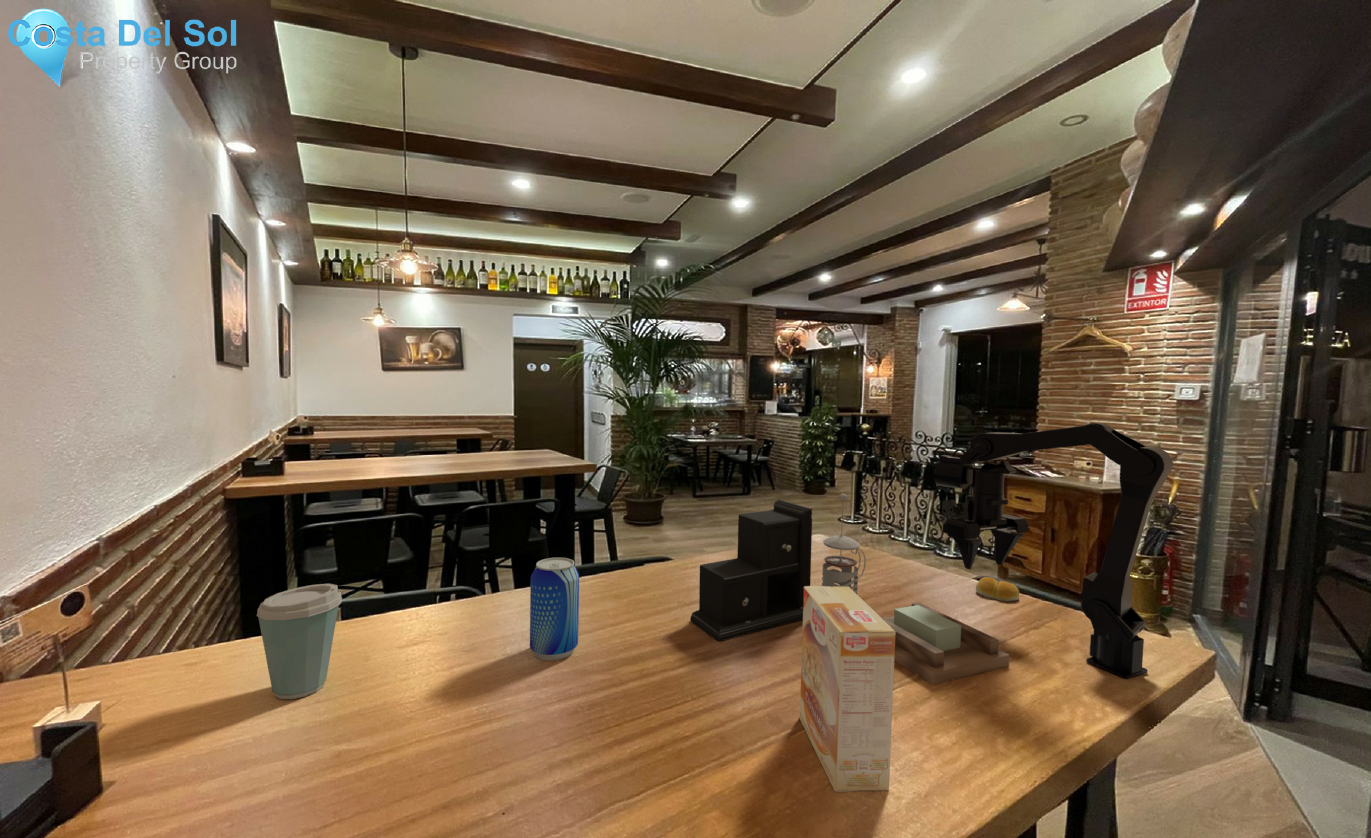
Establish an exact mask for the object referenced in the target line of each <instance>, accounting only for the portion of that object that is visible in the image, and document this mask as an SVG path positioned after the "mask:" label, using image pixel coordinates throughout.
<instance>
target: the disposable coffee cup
mask: <svg viewBox="0 0 1371 838" xmlns="http://www.w3.org/2000/svg"><path fill="white" fill-rule="evenodd" d="M338 589H339V588H338V585H337V584H333V583H323V584H322V583H319V584H311V585H305V586H299V587H294V588H291V589H287V590H284V591H280V592H277V593H275V594H273V595H270V596H269V597H267V598H265V599H264V601H262V602H261V603H260V604H259V607H258V608H257V612H256V613H257V614H256V617H258V622H259V627H260V633H261V637H262V642H263V648H264V649H263V650H264V654H265V660H266V665H267V670H268V674H269V675H268V676H269V679H270V686H271V691H272V693H274V696H275V697H276V698H278V699H280V700H294V699H299V698H305V697H306V696H310V695H311V694H314V693H317V692H318V691H319V690H320V689H322V688H324V686H325V682H326V681H327V677H328V671H329V665H330V660H331V654H332V653H331V652H332V646H333V643H334V642H333V641H334V635H335V628H336V625H337V618H338V610H339V606H340V605H341V603H343V601H342V600H343V597H342V592H341V591H338Z"/></svg>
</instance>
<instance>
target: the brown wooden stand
mask: <svg viewBox="0 0 1371 838" xmlns="http://www.w3.org/2000/svg"><path fill="white" fill-rule="evenodd" d="M915 605H919V606H921V607H923V608H925V609H927V610H929V611H931V612H934V613H936V614H938V615H940V616H942V617H944V618H946V619H948V620H950V621H952V622H955V623H957V624H959V625H961V641H960V648H955V649H950V650H946V651H942V650H941V649H939V648H937V647H935V646H933V645H931V644H930V643H928V642H926V641H924V640H922V639H920V638H919V637H917V636H915V635H913V634H911V633H910V632H908V631H906V630H904V629H902V628H900V627H899V626H897V625H895V624H894V615H891V616H887V617H882V616H880V617H881V618H882V619H883V620H884V621H885V622H886V623H887V624H888V625H889V626H890V627H891V628H892V629H893V630H894V631H895V632H896V635H895V654H894V662H896V663H897V662H898V664H899V665H900V666H902V667H903V668H905V669H907V670H909V671H910V672H912V673H913V674H915V675H916V676H918V677H919V678H921V679H923V680H924V681H926V682H928V683H929V684H930V685H936V684H941V683H946V682H949V681H953V680H958V679H961V678H966V677H969V676H973V675H977V674H982V673H986V672H989V671H994V670H998V669H1003V668H1005V667H1009V665H1010V654H1009V653H1006V652H1004V651H1002V650H1000V649H999V643H1000V639H998V638H996V637H994V636H991V635H990V634H987V633H986V632H983V631H981V630H978V629H977V628H974V627H972V626H970V625H968V624H967V623H964V622H962V621H960V620H957V619H955V618H953V617H951V616H949V615H946V614H945V613H942V612H940V611H939V610H936V609H935V608H932V607H930V606H928V605H926V604H924V603H922V602H913V603H911V606H915Z"/></svg>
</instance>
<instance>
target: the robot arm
mask: <svg viewBox="0 0 1371 838" xmlns="http://www.w3.org/2000/svg"><path fill="white" fill-rule="evenodd" d="M1087 445H1088V446H1091V447H1093V448H1095V449H1096V450H1097V451H1099V452H1100V453H1101V454H1102V455H1104V456H1105V457H1106V458H1107V459H1109V460H1110V461H1112V462H1114V463H1115V464H1117V465H1119V488H1120V499H1119V504H1118V507H1117V511H1116V514H1115V518H1114V521H1113V524H1112V529H1111V532H1110V536H1109V539H1108V542H1107V547H1106V548H1105V549H1106V550H1105V553H1104V557H1103V560H1102V563H1101V566H1100V567H1101V568H1100V570H1099V572H1098V573H1097V572H1095V571H1094V572H1091V574H1088V575H1087V576H1085V577H1083V580H1082V590H1081V593H1080V594H1079V595H1078V597H1077V600H1081V601H1080V608H1081V611H1082V612H1083V614H1084V615H1085V617H1087V618H1088V619H1089V620H1090V623H1091V625H1092V628H1093V633H1091V634H1090V643H1089V657H1087V658H1086V659H1085V661H1086V662H1087V663H1089V664H1091V665H1094V666H1096V667H1098V668H1100V669H1103V670H1105V671H1107V672H1108V673H1109V672H1110V673H1112V674H1113V675H1116V676H1118V677H1120V678H1123V679H1130V678H1133V677H1137V676H1140V675H1144V674H1147V673H1148V668H1145V667H1143V662H1144V661H1143V657H1144V644H1145V643H1144V642H1145V639H1144V638H1142V637H1140V636H1139V635H1138V634H1139V633H1141V632H1142V631H1143V629H1144V628H1145V626H1146V624H1147V622H1146V620H1145V619H1144V618H1143V617H1142V616H1141V615H1140V614H1139V613H1138V611H1136V609H1134V607H1133V606H1132V591H1133V590H1132V582H1131V574H1132V570H1133V566H1134V564H1135V560H1136V557H1137V553H1138V549H1139V547H1140V542H1141V540H1142V536H1143V534H1144V533H1143V532H1144V530H1145V526H1146V523H1147V521H1148V520H1147V519H1148V516H1149V512H1150V510H1151V505H1152V503H1153V501H1154V499H1155V498H1156V496H1157V494H1158V493H1159V492H1160V490H1161V489H1162V487H1163V485H1164V484H1165V482H1166V480H1167V479H1168V477H1169V475H1170V474H1171V472H1172V469H1173V467H1174V461H1173V458H1172V457H1171V456H1170V454H1169V453H1168V452H1167V451H1165V449H1162V448H1160V447H1157V446H1146V445H1144V444H1143V443H1141V442H1140V441H1137V440H1135V439H1134V438H1131V437H1130V436H1127V435H1126V434H1124V433H1121V432H1119V431H1118V430H1116V429H1115V428H1112V427H1111V426H1110V425H1109V424H1107V423H1104V422H1092V423H1088V424H1085V425H1078V426H1071V427H1063V428H1062V427H1061V428H1056V429H1054V428H1053V429H1048V430H1040V431H1039V430H1038V431H1033V432H1024V433H1023V432H1021V433H1018V432H999V431H997V432H995V431H994V432H981V433H977V434H976V435H974V436H973V437H972V439H971V441H970V444H969V448H967V450H965V452H964V453H962V455H961V456H960V457H956V456H951V455H946V454H945V455H943V454H942V455H939V456H938V457H939V460H938V462H937V463H936V465H935V467H934V470H933V474H932V475H933V482H934V483H935V485H937V486H940V487H946V488H947V487H948V488H954V489H962V490H966V489H967V488H968V487H969V486H971V495H970V494H969V495H967V496H966V497H965V502H956V501H955V499H946V500H943V501H942V506H941V509H942V514H943V515H944V516H945V517H948V518H947V519H945V520H944V521H943V522H942V531H941V532H942V533H944V534H946V535H947V537H949V538H951V539H953V541H955V543H956V545H957V548H958V550H959V553H960V557H961V559H962V563H963V565H964V568H965V569H966V570H972V567H973V565H974V562H975V559H976V556H977V553H978V549H979V547H980V543H981V539H980V538H979V537H980V535H981V532H984V531H990V532H991V533H992V536H993V537H994V556H995V564H996V565H999V566H1001V565H1003V564H1004V562H1005V560H1006V559H1007V558H1008V557H1009V554H1010V553H1011V551H1012V550H1013V548H1014V547H1015V546H1016V544H1017V543H1019V540H1020V539H1021V538H1023V537H1024V535H1025V533H1028V532H1029V523H1028V521H1027V520H1026V519H1025V518H1024V517H1019V516H1015V515H1011V514H1007V513H1003V509H1004V508H1003V507H1004V506H1005V505H1008V503H1009V500H1008V499H1007V498H1004V490H1005V489H1004V487H1005V486H1004V485H1005V483H1004V482H1005V475H1011V474H1015V473H1017V469H1016V468H1015V467H1013V466H1012V465H1011V464H1010V462H1009V460H1008V461H1007V460H1003V461H1001V462H1000V463H992V462H988V461H995V460H1002V459H1005V458H1006V459H1007V458H1009V457H1013V456H1017V455H1020V454H1024V453H1026V452H1031V451H1040V450H1041V451H1043V450H1051V449H1061V448H1069V447H1070V448H1071V447H1081V446H1087ZM979 463H983V464H982V466H980V465H979V466H978V465H974V464H979Z"/></svg>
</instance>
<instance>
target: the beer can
mask: <svg viewBox="0 0 1371 838" xmlns="http://www.w3.org/2000/svg"><path fill="white" fill-rule="evenodd" d="M530 575H531V576H530V585H529V586H530V589H529V592H530V594H529V595H530V596H529V597H530V598H529V599H530V600H529V601H530V604H529V605H530V607H529V649H530V650H531V652H532V653H533V655H534V656H535V658H537V659H539V660H541V661H547V662H549V661H558V660H564V659H566V658H568V657H570V656H571V655H573V653H574V651H575V649H576V648H577V646H578V645H579V622H580V621H579V616H580V615H579V614H580V613H579V611H580V610H579V609H580V607H579V606H580V601H579V600H580V574H579V571H578V569H577V568H576V566H575V561H574V560H573V559H571V558H567V557H549V558H548V557H547V558H544V559H541V560H538V561H537V562H536V564H535V569H534V570H533V572H532V573H531V574H530Z"/></svg>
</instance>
